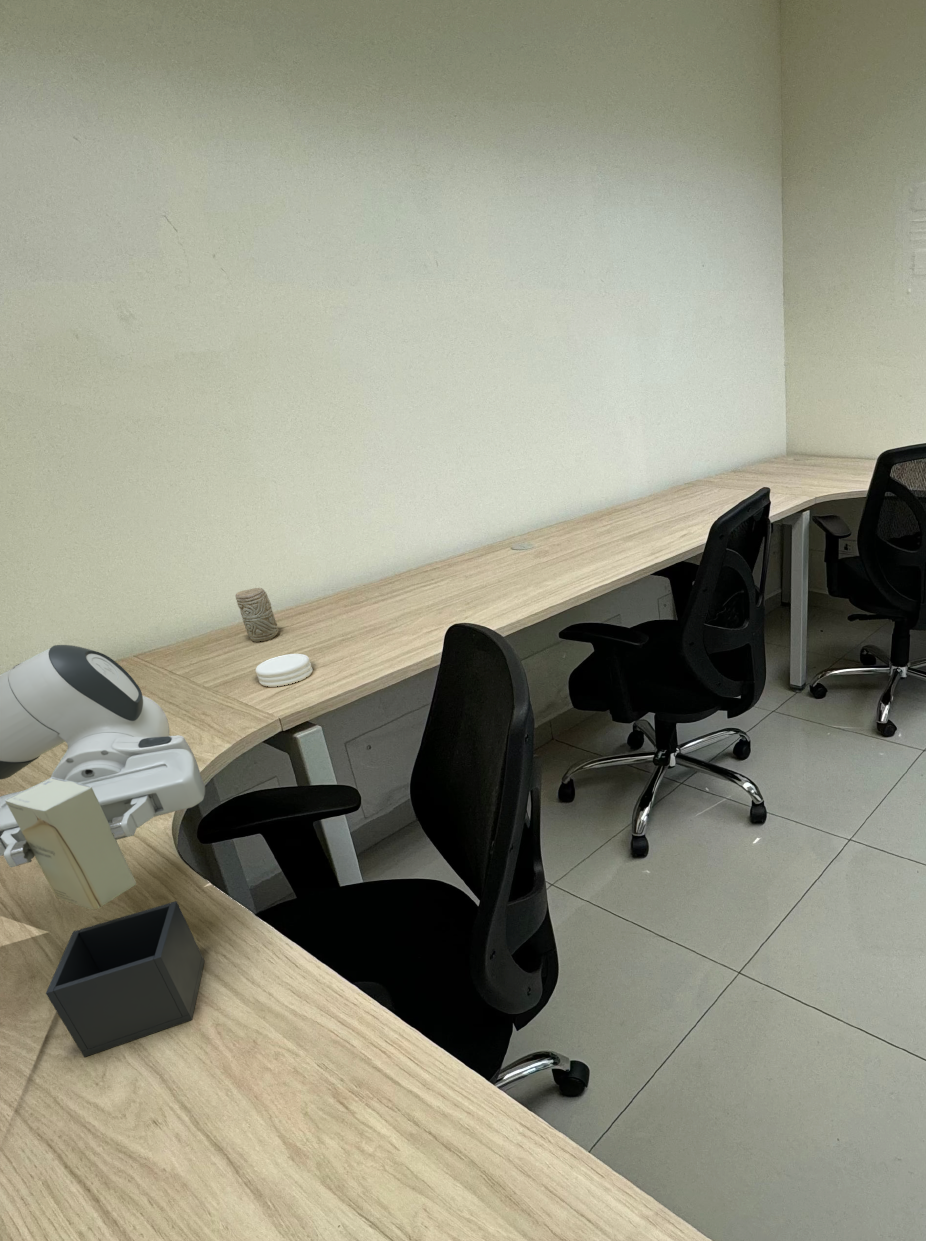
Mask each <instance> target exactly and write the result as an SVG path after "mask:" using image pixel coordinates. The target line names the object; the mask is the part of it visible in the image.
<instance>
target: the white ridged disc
mask: <svg viewBox="0 0 926 1241" xmlns="http://www.w3.org/2000/svg"><path fill="white" fill-rule="evenodd" d="M255 673H256V675H257V679H258V682H259V684H260V685H261V686H264V687H267V686H268V688H276V687H277V686H278V687H284V685H285V686H289V685H293V684H296V683H299V682H301V681H303V680H305V679H307V678H308V677H310V675H312V673H313V667H312V663H311V661H310V658H309V656H308V655H306V654H303V653H289V654H283V655H278V656H275V657H271V658H269V659H266V660H264V661H262V662H261V663H259V664H258V665H257V666H256V668H255ZM306 677H307V678H306ZM298 681H299V682H298ZM295 682H296V683H295ZM292 683H293V684H292ZM288 684H289V685H288Z"/></svg>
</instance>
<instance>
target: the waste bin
mask: <svg viewBox="0 0 926 1241" xmlns="http://www.w3.org/2000/svg"><path fill="white" fill-rule="evenodd" d="M188 924H189V923H188V922H187V920H186V918H185V916H184V914H183V912H182V908H181V907H180V906H179V903H178V901H177V900H175V901H171V902H168V903H165V904H162V905H158V906H155V907H152V908H148V909H144V910H141V911H138V912H134V913H131V914H128V915H124V916H121V917H117V918H115V919H114V918H113V919H111V920H107V921H103V922H100V923H97V924H94V925H90V926H87V927H83V928H80V929H76V930H73V931H72V933H71V935H70V938H69V939H68V943H67V945H66V947H65V949H64V952H63V954H62V956H61V958H60V960H59V963H58V964H57V967H56V970H55V972H54V973H53V976H52V978H51V980H50V983H49V985H48V987H47V990H46V992H45V994H46V996H47V998H48V1000H49V1001H50V1003H51V1004H52V1006H53V1008H54V1009H55V1011H56V1013H57V1014H58V1016H59V1018H60V1020H61V1021H62V1023H63V1025H64V1026H65V1028H66V1029H67V1031H68V1033H69V1035H70V1036H71V1039H73V1041H74V1043H75V1044H76V1046H77V1048H78V1049H79V1051H80V1053H81V1055H82V1056H83V1058H87V1057H89V1056H92V1055H95V1054H97V1053H100V1052H103V1051H107V1050H109V1049H112V1048H115V1047H118V1046H121V1045H123V1044H124V1045H125V1044H126V1043H129V1042H132V1041H135V1040H139V1039H141V1038H144V1037H146V1036H149V1035H152V1034H155V1033H158V1032H162V1031H164V1030H167V1029H170V1028H173V1027H175V1026H178V1025H181V1024H184V1023H187V1022H190V1021H193V1018H194V1013H195V1007H196V1003H197V998H198V994H199V993H198V992H199V988H200V984H201V979H202V975H203V970H204V965H205V958H204V956H203V954H202V952H201V950H200V948H199V946H198V944H197V942H196V939H195V937H194V935H193V933H192V931H191V929H190V926H189V925H188Z"/></svg>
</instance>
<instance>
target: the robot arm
mask: <svg viewBox="0 0 926 1241" xmlns="http://www.w3.org/2000/svg"><path fill="white" fill-rule="evenodd" d="M170 730H171V729H170V723H169V720H168V716H167V714H166V712H165V711H164V709H163V707H161V706H160V704H159V703H157V701H155V700H153V699H152V698H150V697H147V696H145V695H143V692H142V689H141V688H140V687H139V684H138V683H137V682H136V681H135V680H134V677H132V676H131V675H130V674H129V672H128V671H127V670H126V669H125V668H123V667H122V665H120V664H119V663H118V662H116V661H115V660H114V659H112V658H111V657H110V656H108V655H106V654H104V653H102V652H99V651H96V650H93V649H89V648H86V647H82V646H77V645H71V644H55V645H53V646H51V647H49V648H47V649H45V650H43V651H41V652H39V653H37V654H35V655H33V656H32V657H30V658H27V659H25V660H24V661H22V662H20V663H18V664H16V665H13V667H12V668H10V669H8V670H6V671H5V672H3V673H1V674H0V781H1V780H5V779H8V778H11V777H12V776H13V775H16V774H17V773H18V772H20V771H21V770H22V769H25V767H27V766H29V765H30V764H31V763H33V762H35V761H36V760H37V759H39V758H40V757H41V756H42V755H44V754H45V753H47V752H49V751H51V750H53V749H54V748H56V747H58V746H60V745H62V744H65V743H66V745H67V748H66V751H65V753H64V754H63V756H62V757H61V758H60V760H59V762H58V764H57V765H56V766H55V768H54V770H53V772H52V774H51V776H50V778H51V777H54V778H58V779H63V780H67V781H72V782H76V783H80V784H84V785H87V786H91V787H92V789H93V791H94V793H95V795H96V797H97V799H98V802H99V804H100V806H101V808H102V810H103V813H104V815H105V817H106V819H107V821H108V823H109V825H110V828H111V832H112V833H113V834H114V838H115V839H116V840H117V841H118V840H122V839H126V838H129V837H134V836H135V834H136V831H137V829H139V828H140V827H141V826H144V825H145V824H146V823H147V822H149V821H150V820H152V819H153V818H155V817H159V816H162V815H163V816H164V815H166V814H170V813H174V812H178V811H182V810H186V809H191V808H193V807H196V806H197V805H198V804H200V803H201V802H203V801H204V799H205V795H206V785H205V782H204V780H203V777H202V775H201V771H200V767H199V765H198V762H197V759H196V757H195V754H194V752H193V751H192V748H191V746H190V744H189V743H188V741H187V740H186V738H185V737H184V736H183V735H181V734H180V735H179V734H177V735H170V734H171V731H170ZM22 791H23V790H19V791H15V792H10V793H7V794H3V795H1V796H0V857H2V856H3V858H4V860H5V862H6V863H7V865H8V867H10V868H14V867H18V866H19V867H20V866H22V865H25V864H30V863H32V861H33V859H34V858H35V855H34V853H33V852H32V850H31V848H30V846H29V844H28V842H27V841H26V839H25V837H24V835H23V833H22V831H21V829H20V828H19V826H18V824H17V822H16V820H15V818H14V816H13V814H12V812H11V811H10V809H9V807H8V805H7V804H6V802H5V800H6V799H7V798H10V797H12V796H14V795H16V794H18V793H20V792H22Z"/></svg>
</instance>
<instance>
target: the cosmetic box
mask: <svg viewBox="0 0 926 1241" xmlns="http://www.w3.org/2000/svg"><path fill="white" fill-rule="evenodd" d="M21 791H22V792H20V793H18V794H16V795H14V796H12V797H10V798H7V799H6V800H5V802H6V804H7V805H8V807H9V809H10V811H11V812H12V814H13V816H14V818H15V820H16V822H17V824H18V826H19V828H20V829H21V831H22V833H23V835H24V837H25V839H26V841H27V842H28V844H29V846H30V848H31V850H32V852H33V853H34V855H35V856H34V858H35V860H36V861H37V864H38V865H39V867H40V869H41V871H42V873H43V875H44V877H45V879H46V880H47V883H48V884H49V886H50V888H51V890H52V892H53V895H54V896H55V897H56V899H58V900H61V901H64V902H66V903H69V904H73V905H76V906H78V907H81V908H84V909H87V910H88V909H89V910H90V911H97V910H98V909H100V908H102V907H103V906H104V905H106V904H108V903H110V902H111V901H112V900H114V899H116V898H117V897H119V896H120V895H122V894H123V893H125V892H127V891H128V890H130V889H131V888H133V887H135V886H136V885H137V881H136V879H135V877H134V874H133V872H132V870H131V868H130V866H129V864H128V862H127V859H126V857H125V855H124V854H123V851H122V849H121V846H120V845H119V843H118V840H116V839H115V838H114V834H113V833H112V832H111V828H110V825H109V823H108V821H107V819H106V817H105V815H104V813H103V810H102V808H101V806H100V804H99V802H98V799H97V797H96V795H95V793H94V791H93V789H92V787H91V786H87V785H84V784H80V783H76V782H72V781H67V780H63V779H58V778H54V777H51V776H50V778H47V779H45V780H43V781H41V782H39V783H37V784H35V785H33V786H30V787H29V788H27V789H24V790H21Z"/></svg>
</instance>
